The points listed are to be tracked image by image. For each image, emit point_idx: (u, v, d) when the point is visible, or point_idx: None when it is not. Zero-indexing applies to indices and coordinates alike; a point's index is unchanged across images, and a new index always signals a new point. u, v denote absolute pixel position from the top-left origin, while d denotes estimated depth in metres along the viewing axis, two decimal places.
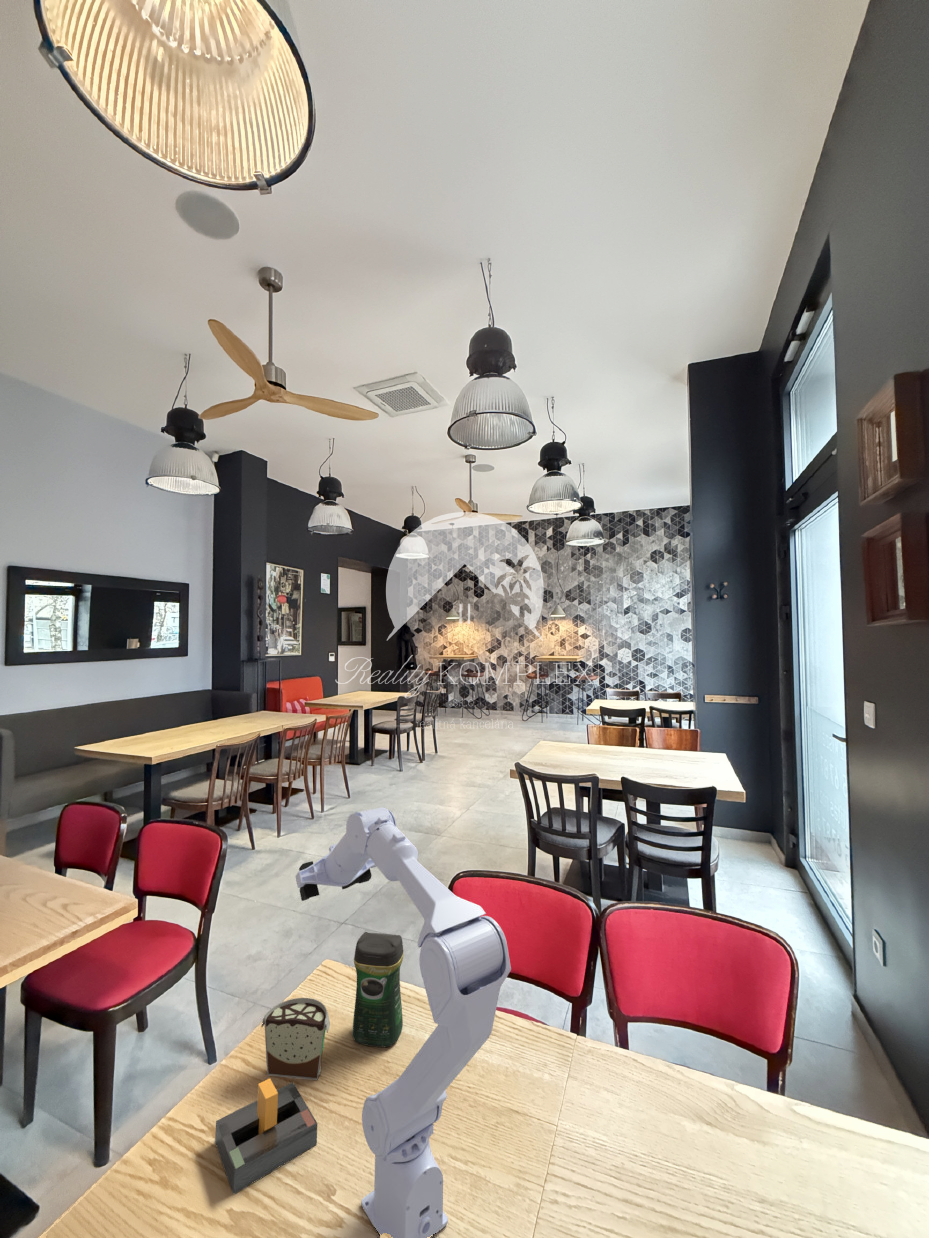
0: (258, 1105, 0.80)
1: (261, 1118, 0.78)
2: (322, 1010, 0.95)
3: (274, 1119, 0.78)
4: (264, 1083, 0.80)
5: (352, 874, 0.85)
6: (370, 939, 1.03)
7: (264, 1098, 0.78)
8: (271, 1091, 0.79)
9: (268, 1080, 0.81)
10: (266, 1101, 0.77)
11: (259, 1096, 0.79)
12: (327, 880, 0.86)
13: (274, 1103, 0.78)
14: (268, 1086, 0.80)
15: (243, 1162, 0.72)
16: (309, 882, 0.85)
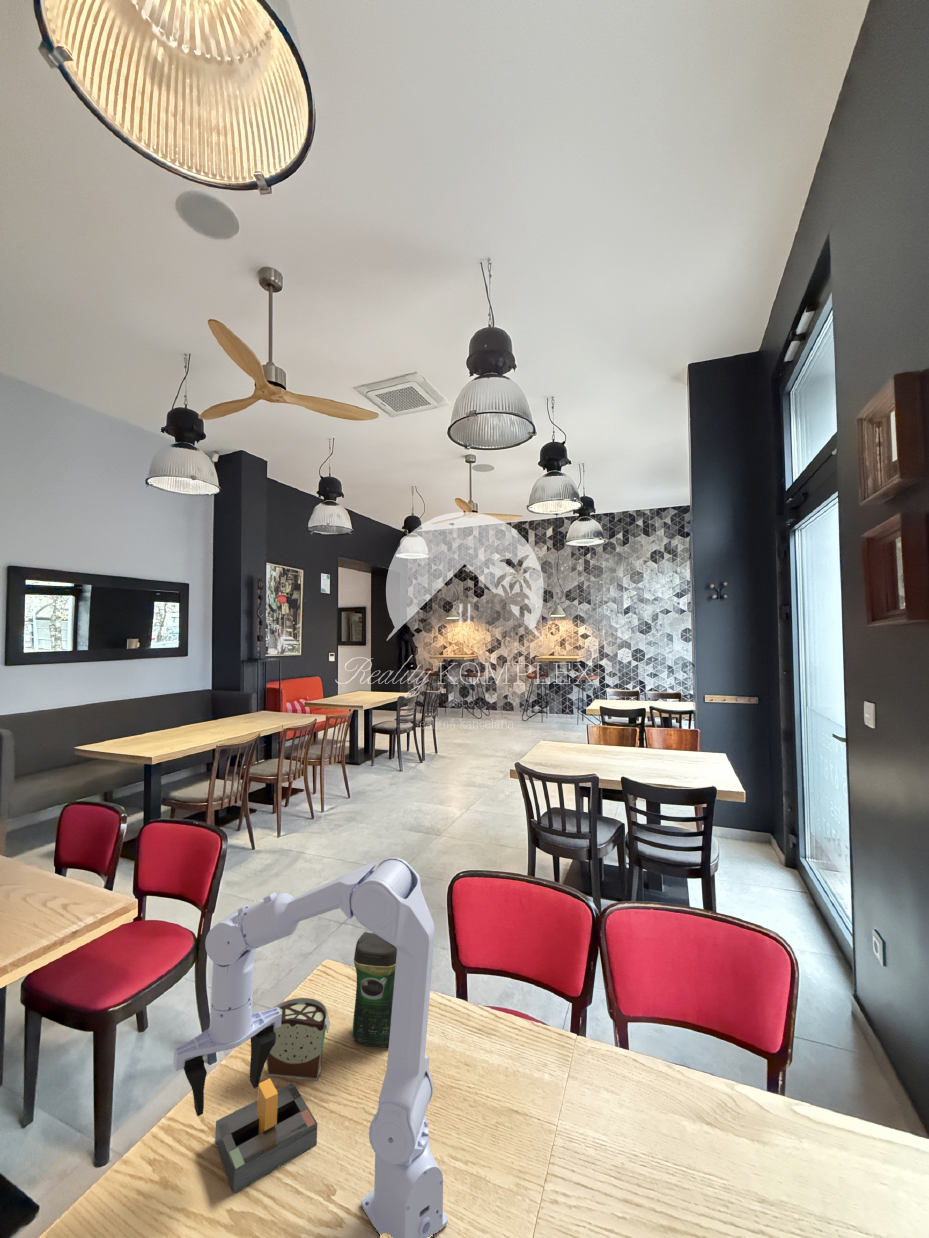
0: (258, 1105, 0.80)
1: (261, 1118, 0.78)
2: (322, 1010, 0.95)
3: (274, 1119, 0.78)
4: (264, 1083, 0.80)
5: (236, 1016, 0.75)
6: (370, 939, 1.03)
7: (264, 1098, 0.78)
8: (271, 1091, 0.79)
9: (268, 1080, 0.81)
10: (266, 1101, 0.77)
11: (259, 1096, 0.79)
12: (212, 1047, 0.74)
13: (274, 1103, 0.78)
14: (268, 1086, 0.80)
15: (243, 1162, 0.72)
16: (188, 1054, 0.72)
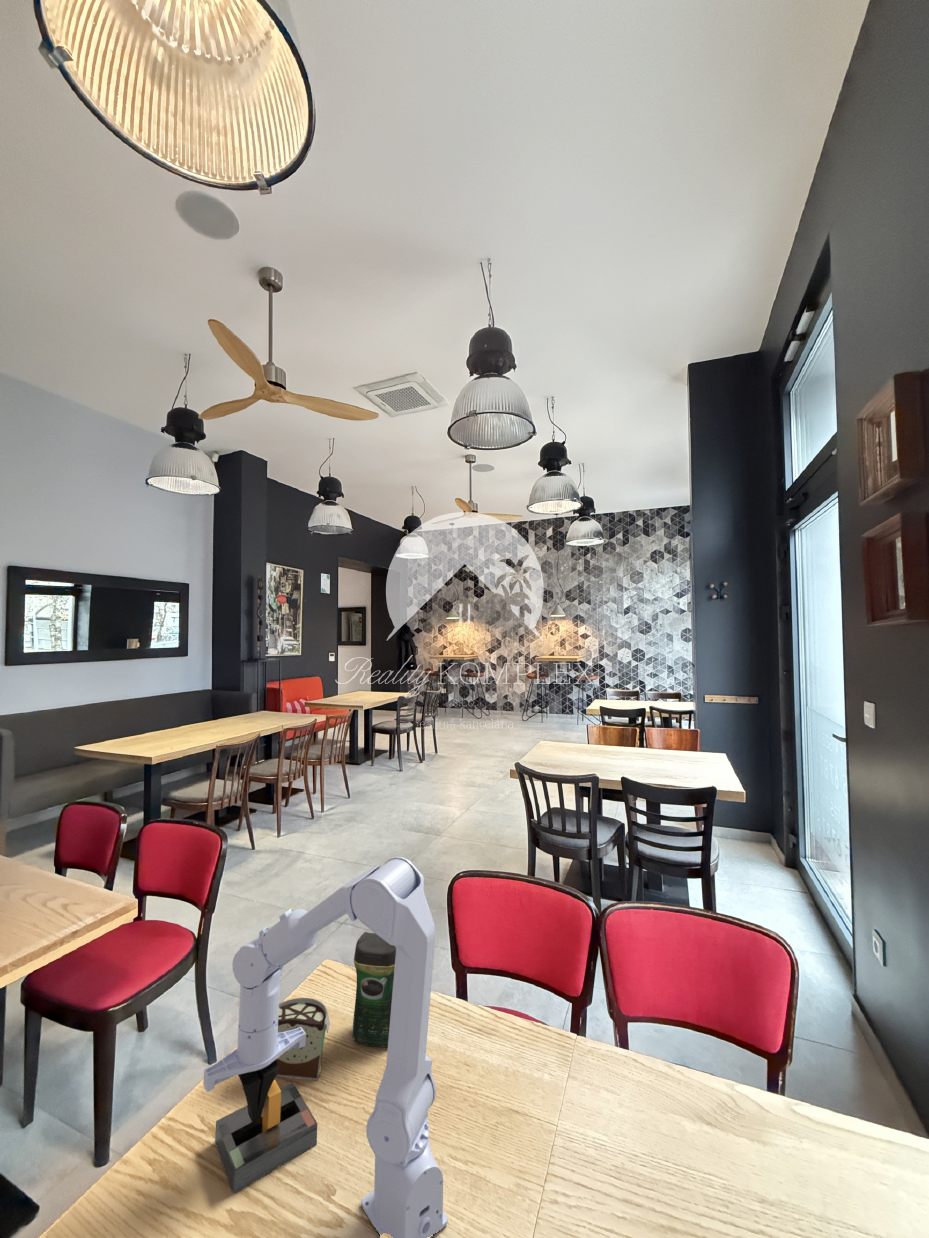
0: None
1: (264, 1116, 0.79)
2: (322, 1010, 0.95)
3: (277, 1117, 0.78)
4: None
5: (263, 1037, 0.77)
6: (370, 939, 1.03)
7: (267, 1096, 0.78)
8: (274, 1089, 0.79)
9: None
10: (270, 1099, 0.78)
11: None
12: (241, 1068, 0.76)
13: (277, 1101, 0.78)
14: (271, 1085, 0.80)
15: (243, 1162, 0.72)
16: (218, 1075, 0.74)
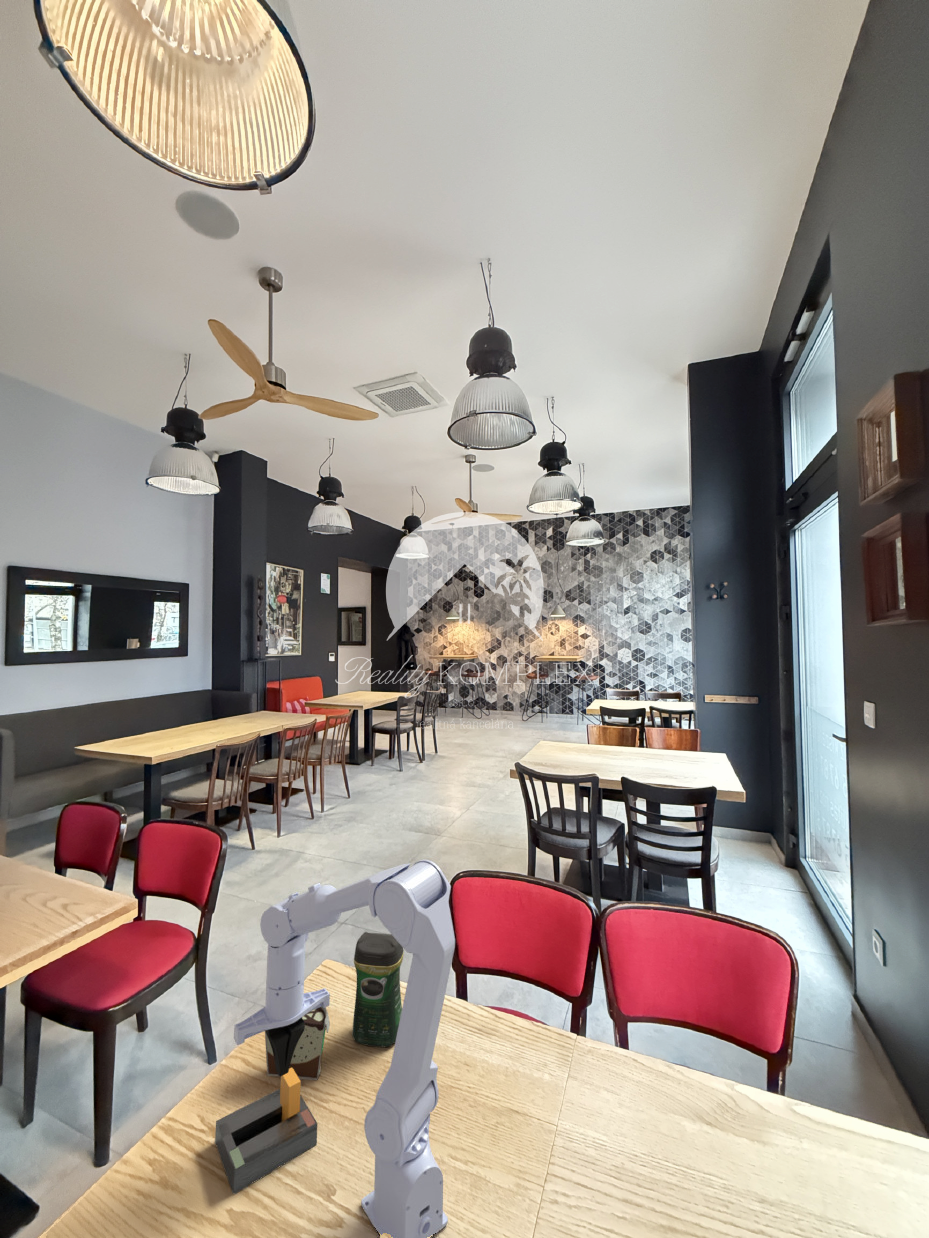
0: (281, 1094, 0.82)
1: (284, 1106, 0.80)
2: (322, 1010, 0.95)
3: (297, 1107, 0.80)
4: None
5: (291, 995, 0.80)
6: (370, 939, 1.03)
7: (287, 1086, 0.80)
8: (294, 1079, 0.81)
9: (290, 1069, 0.83)
10: (290, 1089, 0.80)
11: (282, 1084, 0.82)
12: None
13: (297, 1091, 0.80)
14: (290, 1075, 0.82)
15: (243, 1162, 0.72)
16: (248, 1030, 0.77)
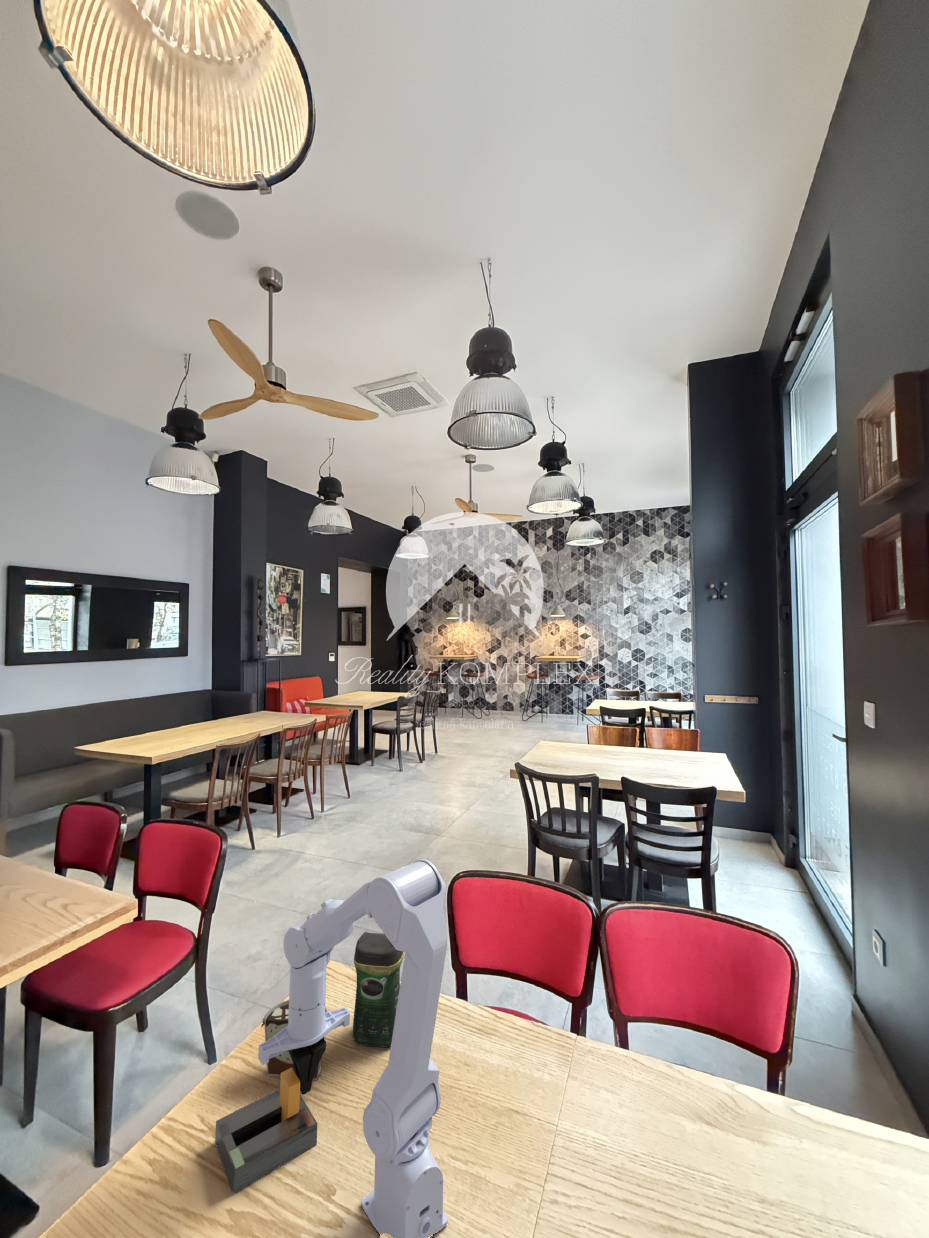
0: (280, 1094, 0.82)
1: (284, 1106, 0.80)
2: None
3: (297, 1107, 0.80)
4: (286, 1072, 0.82)
5: (313, 1015, 0.82)
6: (370, 939, 1.03)
7: (287, 1086, 0.80)
8: (293, 1080, 0.81)
9: (290, 1069, 0.83)
10: (289, 1089, 0.80)
11: (282, 1085, 0.82)
12: None
13: (297, 1091, 0.80)
14: (290, 1075, 0.82)
15: (243, 1162, 0.72)
16: (272, 1050, 0.79)
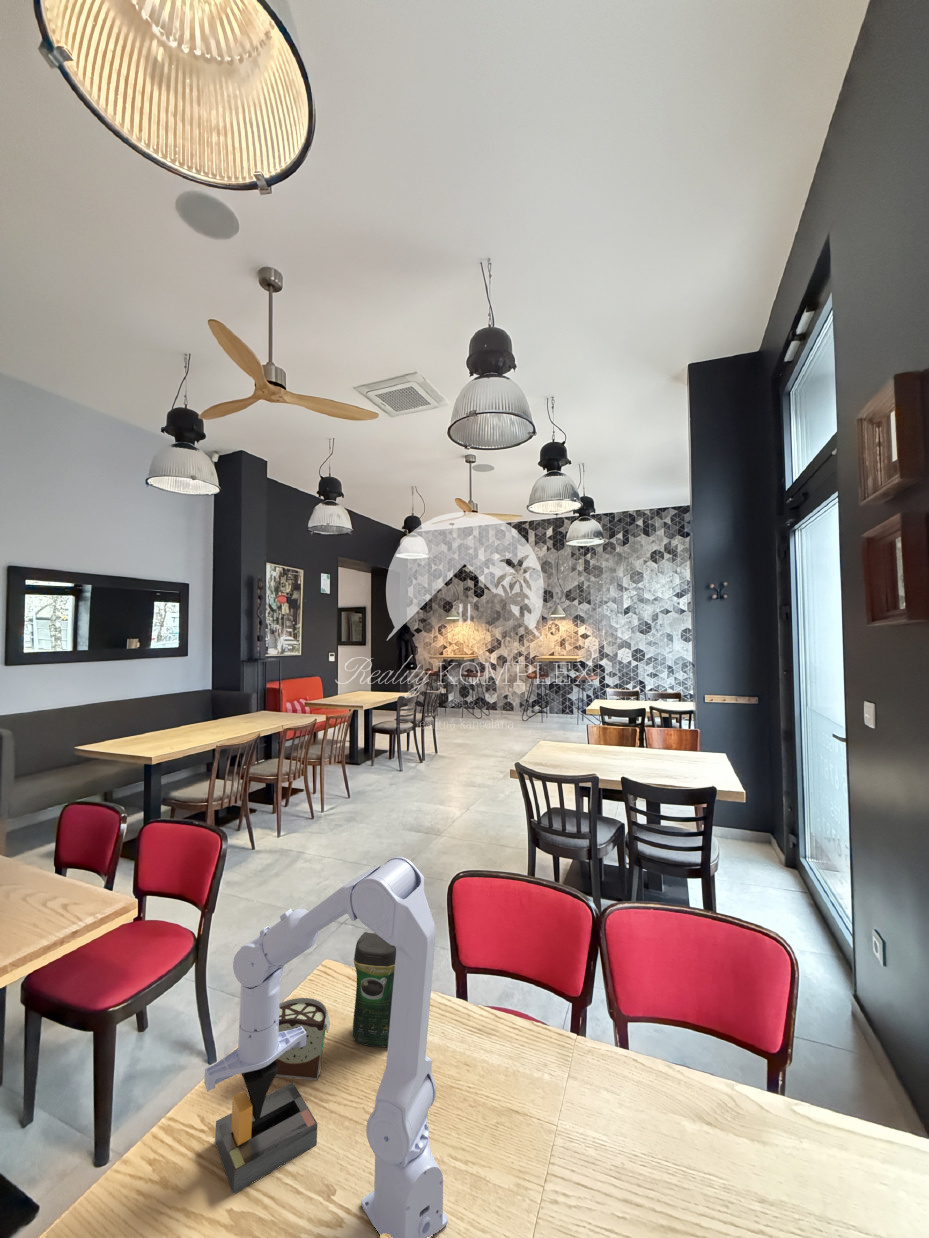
0: (232, 1119, 0.77)
1: (235, 1132, 0.76)
2: (322, 1010, 0.95)
3: (248, 1133, 0.76)
4: (239, 1095, 0.78)
5: (264, 1037, 0.77)
6: (370, 939, 1.03)
7: (238, 1111, 0.76)
8: (245, 1104, 0.76)
9: (243, 1092, 0.78)
10: (240, 1114, 0.75)
11: (233, 1109, 0.77)
12: (241, 1067, 0.76)
13: (248, 1116, 0.76)
14: (242, 1099, 0.77)
15: (243, 1162, 0.72)
16: (218, 1075, 0.74)
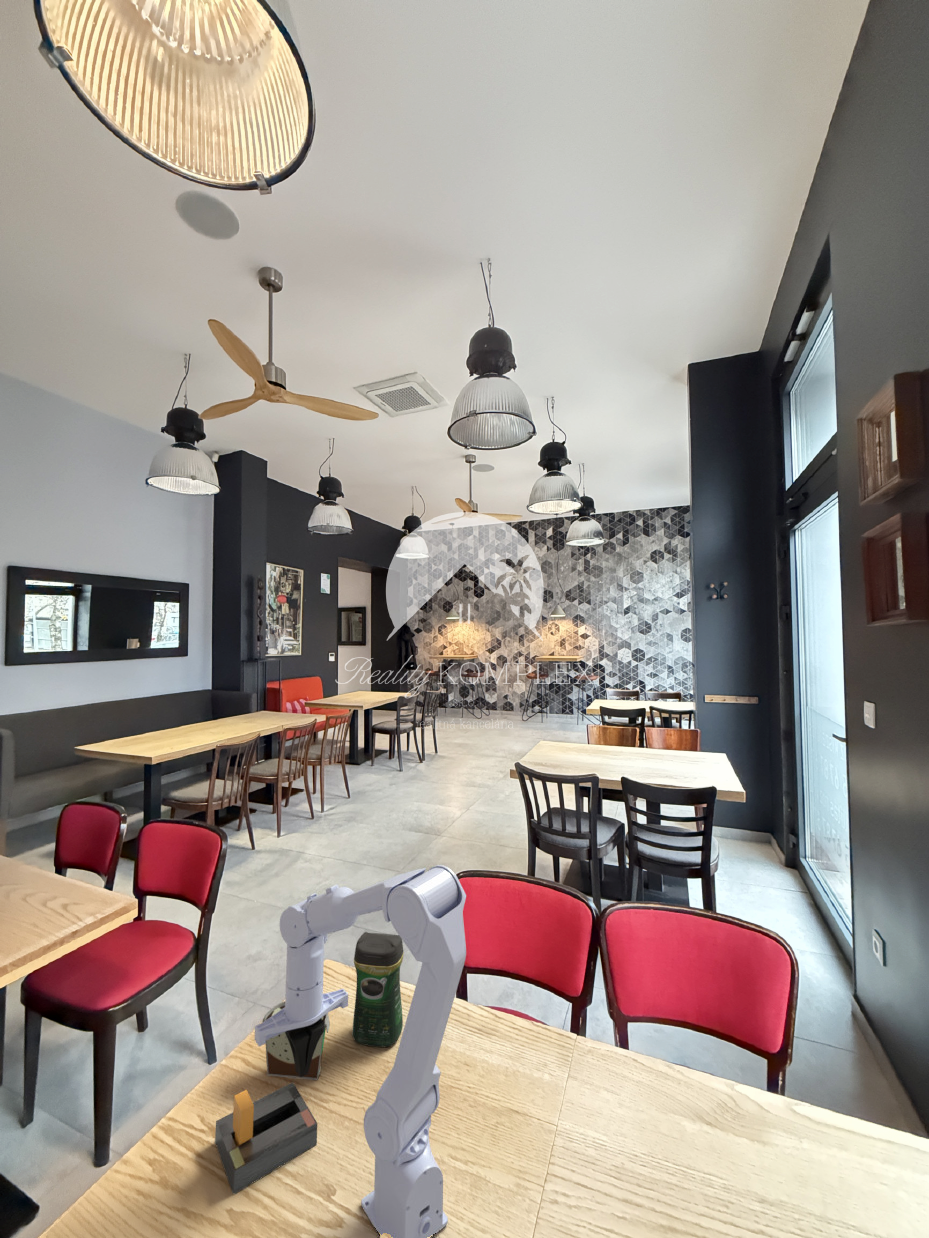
0: (234, 1118, 0.77)
1: (236, 1131, 0.76)
2: None
3: (250, 1132, 0.76)
4: (240, 1095, 0.78)
5: (311, 995, 0.80)
6: (370, 939, 1.03)
7: (239, 1110, 0.76)
8: (247, 1103, 0.77)
9: (244, 1092, 0.79)
10: (242, 1114, 0.75)
11: (235, 1108, 0.77)
12: (290, 1024, 0.79)
13: (250, 1116, 0.76)
14: (244, 1098, 0.77)
15: (243, 1162, 0.72)
16: (269, 1031, 0.77)
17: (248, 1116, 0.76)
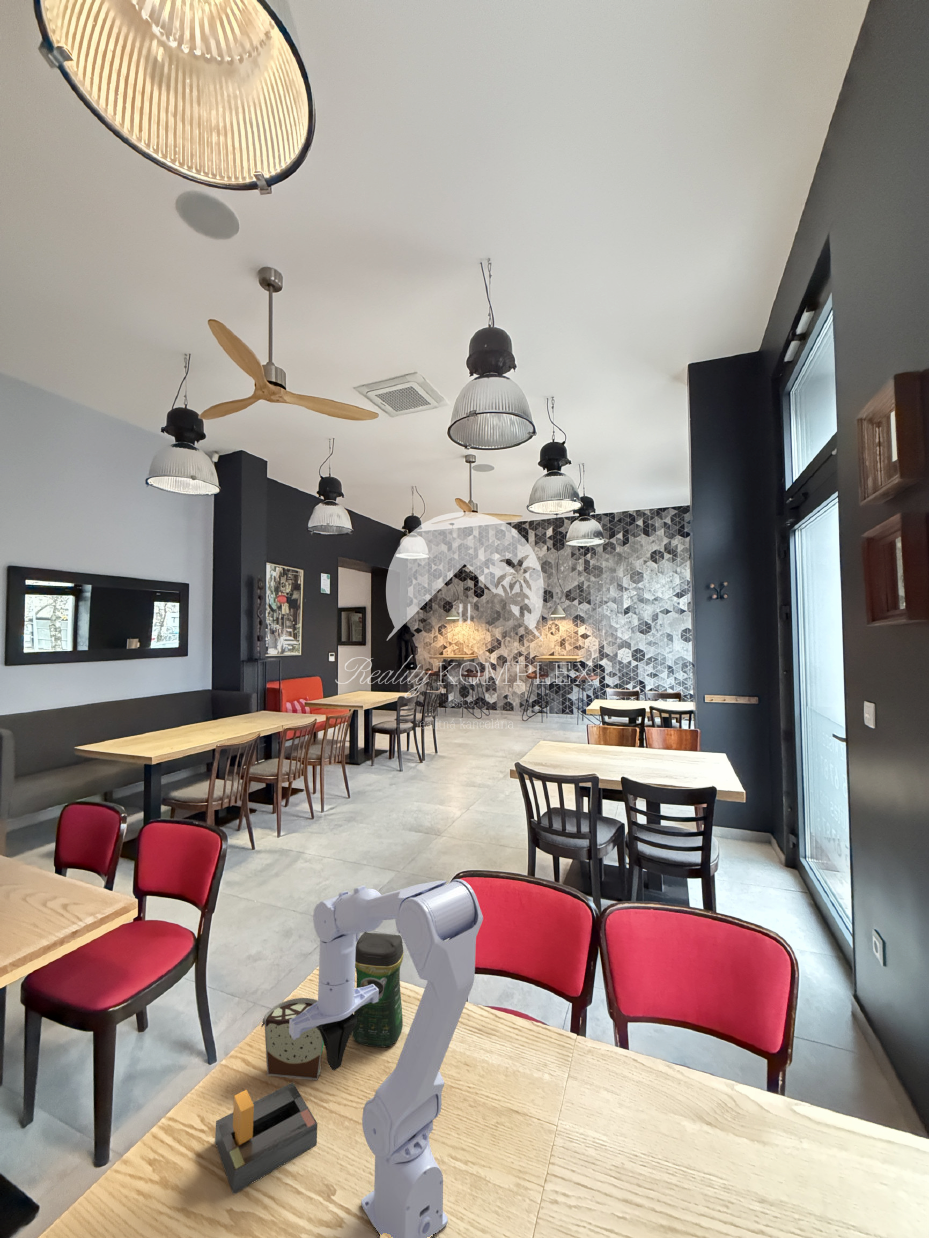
0: (234, 1118, 0.77)
1: (236, 1131, 0.76)
2: None
3: (250, 1132, 0.76)
4: (240, 1095, 0.78)
5: (344, 990, 0.81)
6: (370, 939, 1.03)
7: (239, 1110, 0.76)
8: (247, 1103, 0.77)
9: (244, 1092, 0.79)
10: (242, 1114, 0.75)
11: (235, 1108, 0.77)
12: None
13: (250, 1116, 0.76)
14: (244, 1098, 0.77)
15: (243, 1162, 0.72)
16: (303, 1025, 0.78)
17: (248, 1116, 0.76)
